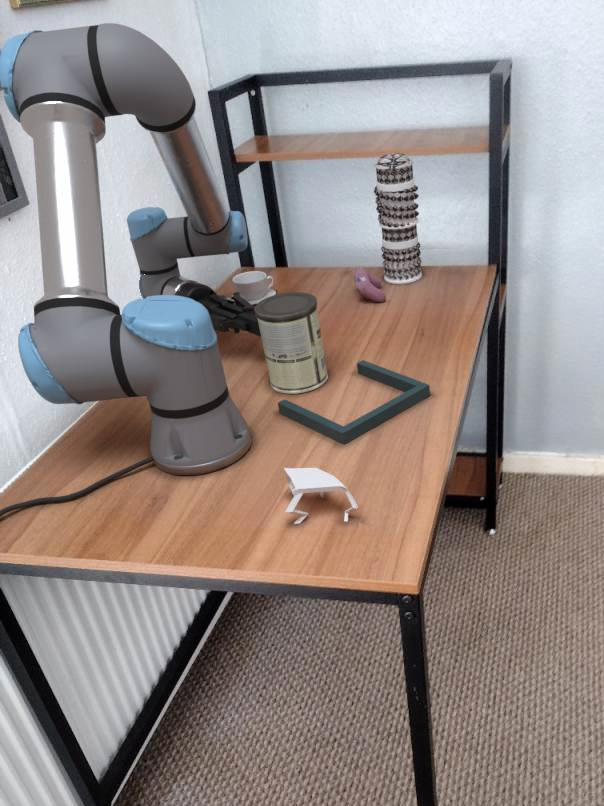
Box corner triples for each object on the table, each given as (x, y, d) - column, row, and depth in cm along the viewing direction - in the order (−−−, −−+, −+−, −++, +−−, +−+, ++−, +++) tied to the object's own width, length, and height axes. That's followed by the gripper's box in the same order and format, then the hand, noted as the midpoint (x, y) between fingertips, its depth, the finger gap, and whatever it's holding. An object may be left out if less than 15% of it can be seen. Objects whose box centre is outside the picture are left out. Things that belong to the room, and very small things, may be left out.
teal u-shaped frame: (279, 413, 129) (277, 402, 128) (364, 370, 139) (362, 359, 138) (344, 444, 119) (342, 433, 118) (430, 395, 129) (429, 384, 128)
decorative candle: (397, 287, 169) (387, 164, 155) (374, 277, 176) (362, 157, 161) (432, 276, 173) (425, 154, 158) (408, 266, 180) (399, 148, 165)
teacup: (236, 310, 168) (231, 289, 165) (226, 295, 175) (222, 275, 172) (281, 300, 170) (277, 278, 167) (269, 286, 178) (266, 265, 175)
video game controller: (365, 295, 172) (347, 268, 168) (382, 283, 171) (365, 256, 167) (369, 312, 164) (351, 284, 160) (388, 300, 163) (369, 272, 159)
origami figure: (267, 525, 104) (260, 494, 102) (291, 489, 111) (286, 459, 108) (352, 535, 101) (348, 504, 98) (372, 497, 107) (368, 467, 104)
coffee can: (264, 375, 141) (249, 299, 133) (320, 362, 143) (308, 287, 135) (276, 399, 133) (261, 320, 125) (335, 386, 135) (323, 307, 127)
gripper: (222, 308, 159) (296, 335, 144) (167, 330, 152) (238, 362, 137) (214, 271, 154) (289, 296, 140) (157, 293, 147) (229, 321, 133)
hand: (264, 328), depth 138 cm, fingers closed
